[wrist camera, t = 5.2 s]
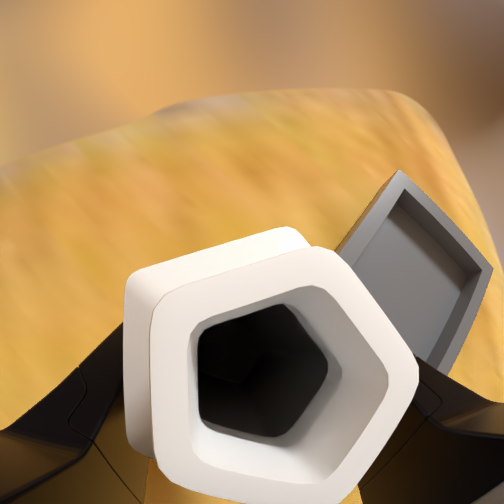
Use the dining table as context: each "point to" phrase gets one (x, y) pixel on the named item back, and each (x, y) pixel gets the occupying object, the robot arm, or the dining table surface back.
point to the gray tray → (418, 270)
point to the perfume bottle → (261, 371)
